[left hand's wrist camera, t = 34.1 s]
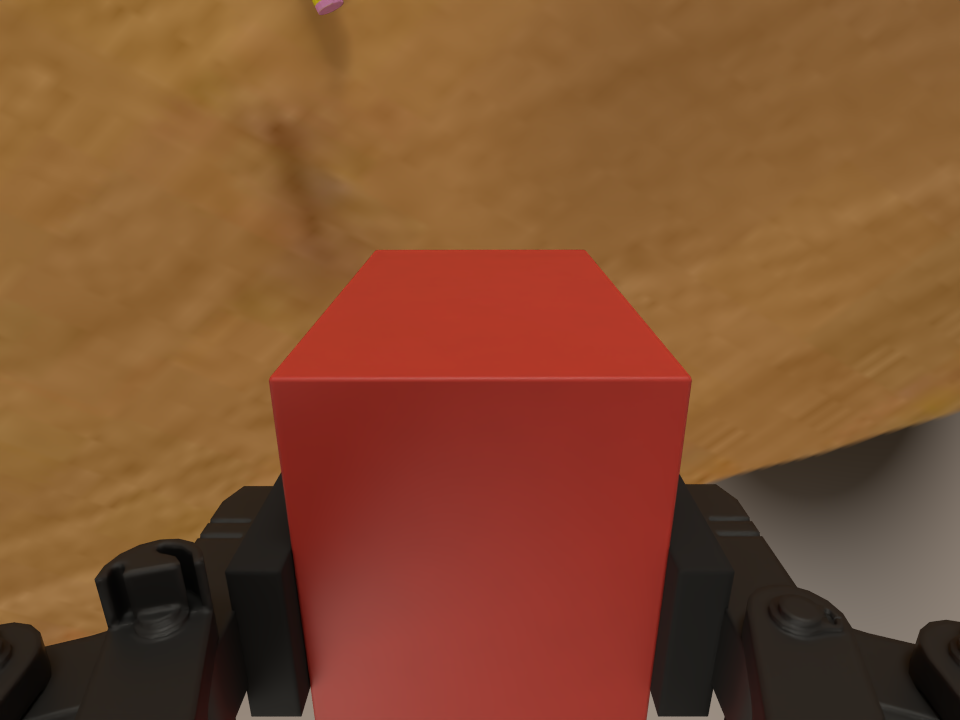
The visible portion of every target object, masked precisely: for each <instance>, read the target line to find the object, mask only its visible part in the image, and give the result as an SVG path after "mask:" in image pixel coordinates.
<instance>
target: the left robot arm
mask: <svg viewBox="0 0 960 720" xmlns="http://www.w3.org/2000/svg"><path fill="white" fill-rule="evenodd" d="M95 583H96V586H97V590H98V593H99V597H100V600H101V604H102V608H103V611H104V615H105V618H106V622H107V625H108V631H106V632H102V633H99V634H96V635H93V636H89V637H84V638H80V639H76V640H71V641H67V642H63V643H59V644H54V645H50V646H46V647H45V646H44V643H43V640H42V637H41V634H40V632H39V631H38V630H37V629H35V628H34V627H33V626H32V625H29V624H22V623H15V622H14V623H7V624H1V625H0V720H236V715H237V713H238V710H239V708H240V705H241V703H242V701H243V698H244V696H245V693H246V691H247V694H248V700H249V705H250V710H251V716H302V713H303V709H304V706H305V703H306V699H307V696H308V693H309V689H310V679H309V671H308V664H307V657H306V649H305V642H304V634H303V627H302V620H301V612H300V605H299V598H298V590H297V583H296V576H295V568H294V561H293V554H292V546H291V539H290V531H289V524H288V517H287V509H286V502H285V495H284V487H283V480H282V473H281V474H280V475H279V477H278V479H277V481H276V482H275V484H274V486H244V487H242V488H241V489H239V490H238V491H237V492H235V493H234V494H233V495H231V496H230V497H228V498H227V499H226V500H224V501H223V502H222V503H221V505H220V506H219V508H218V509H217V511H216V512H215V514H214V515H213V517H212V518H211V521H210V523H208V524H207V526H206V527H205V528H204V530H203V531H202V533H201V534H200V538H198V539H197V540H196V542H195V543H193V542H190V541H186V540H182V539H163V540H157V541H153V542H149V543H145V544H141V545H138V546H136V547H134V548H132V549H130V550H128V551H126V552H123V553H121V554H120V555H118V556H117V557H116V558H114V559H113V560H112V561H110V562H109V563H108V564H106V565H105V566H104V567H103V568H102V570H101V571H100V572H99V574H98V575H97V577H96V578H95ZM713 689H714V691H715V694H716V696H717V699H718V701H719V704H720V706H721V708H722V711H723V713H724V716H725V718H724V720H960V622H957V621H950V620H942V621H934V622H929V623H928V624H927V625H926V626H924V627H923V628H922V629H921V630H920V632H919V635H918V638H917V641H916V644H912V643H908V642H904V641H899V640H895V639H891V638H886V637H882V636H878V635H873V634H869V633H866V632H862V631H859V630H856V629H853V628H852V627H851V626H850V624H849V623H848V621H847V619H846V618H845V616H844V615H843V613H842V612H840V611H839V610H838V609H837V608H836V607H835V606H833V605H832V604H831V603H830V602H829V601H827V600H825V599H823V598H822V597H820V596H818V595H816V594H814V593H812V592H810V591H808V590H804V589H801V588H797V586H796V585H795V583H794V582H793V581H792V579H791V578H790V576H789V575H788V573H787V572H786V570H785V569H784V567H783V566H782V565H781V563H780V562H779V560H778V559H777V557H776V556H775V554H774V553H773V551H772V550H771V548H770V547H769V546H768V544H767V543H766V541H765V540H764V538H763V537H762V536H760V532H759V531H758V529H757V528H756V526H755V525H754V524H753V522H752V521H750V520H749V516H748V515H747V513H746V512H745V510H744V509H743V507H742V506H741V505H740V503H739V502H738V500H737V499H735V498H734V497H733V496H731V495H730V494H729V493H727V492H726V491H724V490H723V489H722V488H720V487H719V486H717V485H716V484H685V483H684V481H683V480H682V478H681V476H680V474H679V479H678V487H677V494H676V502H675V509H674V517H673V524H672V532H671V539H670V547H669V553H668V560H667V568H666V575H665V583H664V590H663V598H662V605H661V612H660V620H659V627H658V635H657V642H656V649H655V657H654V664H653V672H652V679H651V687H650V691H651V694H652V697H653V701H654V704H655V707H656V711H657V714H658V716H708V714H709V708H710V703H711V697H712V692H713Z"/></svg>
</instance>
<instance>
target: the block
mask: <svg viewBox="0 0 960 720" xmlns="http://www.w3.org/2000/svg"><path fill="white" fill-rule="evenodd" d="M691 382H692V380H691V377H690V376H689V374H688V373H687V372H686V371H685V370H684V368H683V367H682V366H681V365H680V364H679V362H678V361H677V360H676V359H675V358H674V356H673V355H672V354H671V353H670V351H669V350H668V349H667V348H666V347H665V345H664V344H663V343H662V342H661V341H660V339H659V338H658V337H657V336H656V335H655V333H654V332H653V331H652V330H651V329H650V327H649V326H648V325H647V324H646V323H645V321H644V320H643V319H642V318H641V317H640V315H639V314H638V313H637V312H636V311H635V309H634V308H633V307H632V306H631V305H630V303H629V302H628V301H627V300H626V299H625V297H624V296H623V295H622V294H621V293H620V291H619V290H618V289H617V288H616V287H615V285H614V284H613V283H612V282H611V281H610V279H609V278H608V277H607V276H606V275H605V273H604V272H603V271H602V270H601V269H600V267H599V266H598V265H597V264H596V263H595V261H594V260H593V259H592V258H591V257H590V255H589V254H588V253H587V252H586V251H585V250H376V251H375V252H374V253H373V254H372V255H371V257H370V258H369V259H368V260H367V261H366V263H365V264H364V265H363V266H362V267H361V269H360V270H359V271H358V272H357V273H356V275H355V276H354V277H353V278H352V279H351V281H350V282H349V283H348V284H347V285H346V287H345V288H344V289H343V290H342V291H341V293H340V294H339V295H338V296H337V297H336V299H335V300H334V301H333V302H332V303H331V305H330V306H329V307H328V308H327V309H326V311H325V312H324V313H323V314H322V316H321V317H320V318H319V319H318V320H317V322H316V323H315V324H314V325H313V326H312V328H311V329H310V330H309V331H308V332H307V334H306V335H305V336H304V337H303V338H302V340H301V341H300V342H299V343H298V344H297V346H296V347H295V348H294V349H293V350H292V352H291V353H290V354H289V355H288V356H287V358H286V359H285V360H284V361H283V362H282V364H281V365H280V366H279V367H278V368H277V370H276V371H275V372H274V373H273V374H272V376H271V377H270V379H269V384H270V392H271V399H272V406H273V414H274V421H275V429H276V436H277V443H278V451H279V458H280V465H281V473H282V480H283V487H284V495H285V502H286V509H287V517H288V524H289V531H290V539H291V546H292V554H293V561H294V568H295V576H296V583H297V590H298V598H299V605H300V612H301V620H302V627H303V634H304V642H305V649H306V657H307V664H308V671H309V679H310V686H311V693H312V701H313V708H314V715H315V720H646V719H647V711H648V704H649V696H650V687H651V679H652V672H653V664H654V657H655V649H656V642H657V635H658V627H659V620H660V612H661V605H662V598H663V590H664V583H665V575H666V568H667V560H668V553H669V547H670V539H671V532H672V524H673V517H674V509H675V502H676V494H677V487H678V479H679V472H680V464H681V457H682V449H683V442H684V434H685V427H686V419H687V412H688V404H689V397H690V390H691Z"/></svg>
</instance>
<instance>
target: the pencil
mask: <svg viewBox="0 0 960 720" xmlns="http://www.w3.org/2000/svg"><path fill="white" fill-rule="evenodd" d="M312 1H313V4H314V6H315V7H316V10H317V12H318V14H319V15H324V14H327V13H330V12H332V11H334V10H336V9H338V8H339V7H340V6H341V5H342V4H343V0H312Z"/></svg>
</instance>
